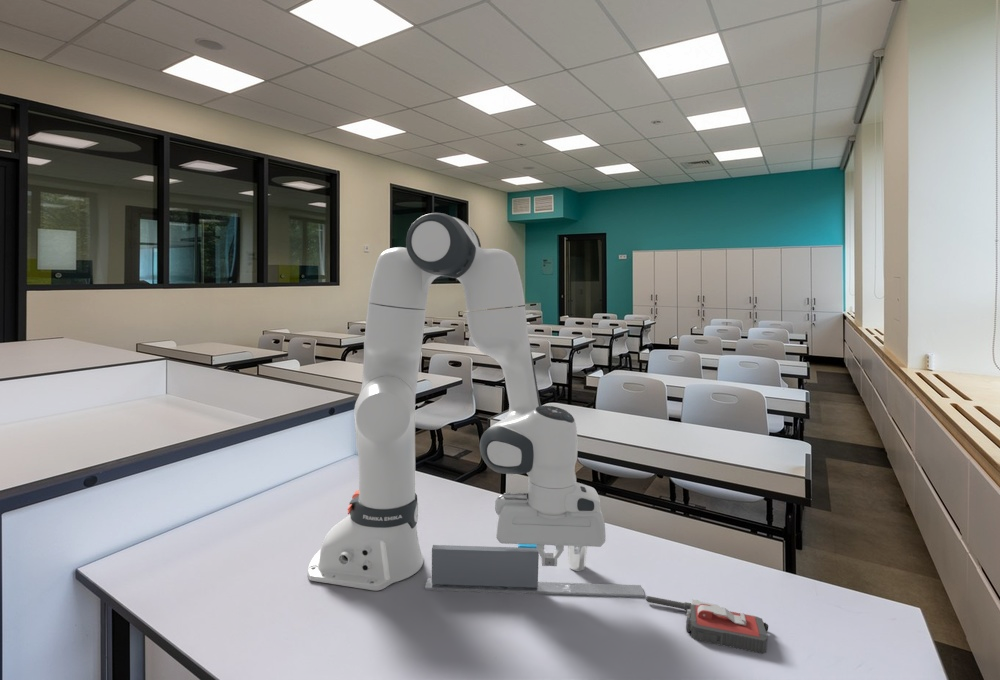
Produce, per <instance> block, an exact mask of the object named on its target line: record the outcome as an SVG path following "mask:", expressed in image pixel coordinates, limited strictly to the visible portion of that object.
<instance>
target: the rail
mask: <svg viewBox="0 0 1000 680" xmlns="http://www.w3.org/2000/svg"><path fill="white" fill-rule="evenodd" d="M424 591H438V592H439V591H442V592H471V593H472V592H474V593H475V592H476V593H477V592H479V593H505V594H507V593H508V594H530V595H531V594H532V595H534V594H535V595H536V594H537V595H538V594H539V595H565V596H566V595H567V596H592V597H593V596H595V597H596V596H597V597H600V596H602V597H626V598H627V597H629V598H631V597H633V598H646V597H645V592H644V590H643V587H642V585H641V584H615V583H614V584H613V583H584V582H583V583H582V582H581V583H580V582H579V583H578V582H555V581H554V582H551V581H550V582H549V581H538V587H511V586H479V585H448V584H432V578H427V579H426V582H425V587H424Z"/></svg>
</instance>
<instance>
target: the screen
mask: <svg viewBox="0 0 1000 680" xmlns="http://www.w3.org/2000/svg"><path fill="white" fill-rule="evenodd" d="M539 556H540V554H539V552H538V551H537V548H518V546H517V547H512V546H509V547H508V546H486V545H485V546H479V545H478V546H477V545H453V544H452V545H446V544H444V545H443V544H433V545H432V548H431V579H432V584H448V585H479V586H511V587H538V582H539Z"/></svg>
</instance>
